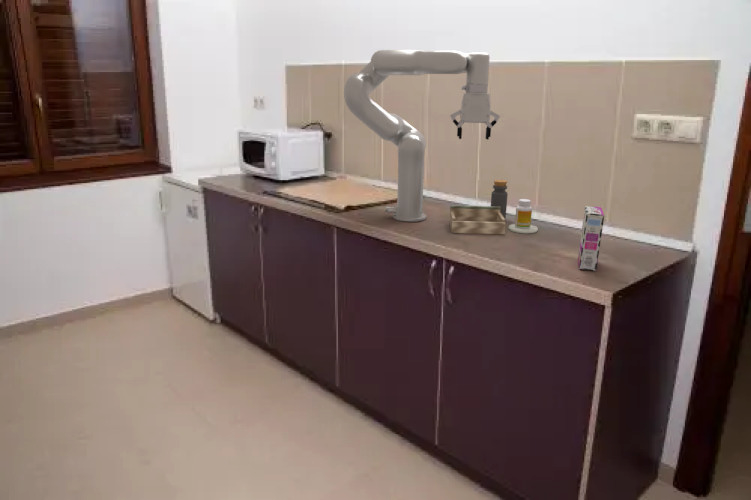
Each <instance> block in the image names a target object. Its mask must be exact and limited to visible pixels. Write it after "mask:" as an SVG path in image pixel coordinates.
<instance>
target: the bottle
mask: <svg viewBox="0 0 751 500" xmlns="http://www.w3.org/2000/svg"><path fill="white" fill-rule="evenodd" d="M507 182H508V181H507V180H505V179H504V180H503V179H495V180H494V181H493V184H494V185H493V186H492V188H493V189H494V190H493V191H491V197H490V198H491V199H490V206H495V207H501V210H500V213H501V214H502V215H503V217H504V218H505V220H506V218H507V217H506V216H507V208H508V207H507V205H508V191H506V190H507V189H508V186H507Z"/></svg>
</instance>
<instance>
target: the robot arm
mask: <svg viewBox="0 0 751 500" xmlns="http://www.w3.org/2000/svg"><path fill="white" fill-rule="evenodd" d="M489 71H490V54H489V53H488V52H483V51H482V52H480V51H479V52H477V51H473V52H462V51H459V50H421V49H380V50H376V51H375V52H374V53H373V54H372V56H371V58H370V61H369V62H368V63H367V64H366V65H365V66H364V67H363V68H362V69H361V70H360V71H359V72H357V73H353V74H351V75H349V77H348V78H347V79H346V80H345V84H344V87H343V97H344V98H343V99H344V101H345V104H346V107H347V108H348V110H349V111H350V112H351V114H353V115H354V116H355V118H357V119H358V120H359V121H361V122H362V123H363V124H364V125H365V126H366V127H368V128H369V129H370V130H372V132H374V134H376V135H377V136H378V137H379V138H381V139H382V140H384V141H387V142H390V143H392V144H393V145H395V146H396V147H397V197H396V198H397V199H396V200H397V201H396V203H397V204H396V206H385V211H384V212H386V213H388V214H390V213H391V214H392V218H393V219H394V220H395V221H400V222H408V223H410V222H413V223H415V222H421V221H425V220H426V219H427V215H426V214H425V213H424V212H423V205H424V182H425V181H424V179H425V177H424V176H425V175H424V174H425V171H424V170H425V150H426V148H427V141H426V139H425V136H424V134H423V133H421V132H420V131H419V130H418V129H416V128H415V127H414V126H412V125H411V124H410V123H409V122H408V121H406V120H405V119H404V118H402V117H401V116H400V115H398V114H396V113H394V112H391V113H390V112H389V111H387V110H386V109H384V108H383V107H382V106H381V105H380V104H378V103H377V102H376V101H374V100H373V99H372V98H371V97H370V96H369V95H370V94H371V93H372V92H373V91H375V90H376V89H377V88H378V87H379V86H380V85H381V84H382V83H383V82H384V81H385V80H386V79H388V77H389V76H422V75H459V74H466V79H465V81H466V83H465V85H462V86H461V91H465V92H464V93H463V95H462V100H461V106H460V109H459V110H457V111H455V112H453V113H451V114H450V118H451V120H452V122H453V123H454V125H455V126H456V128H457V132H456V133H457V134H456V137H458V139H459V140H462V137H463V127H462V126H463V125H464V123H468V124H469V123H471V124H472V123H473V124H475V123H476V124H485V125H486V128H485V140H487V141H488V140H489V139H490V138H491V132H492V128H493V127H494V126H495V125H496V124H497V122H498V121H499V120H500V117H501V116H500V115H499V114H497V113H495V112H493V111H492V110H491V96H490V93H488V85H489ZM458 115H460V117H459V118H460V120H459V121H458V120H457V119H456V117H457V116H458ZM491 116H492V117H494V118H493V120H492V121H491V122H490V119H491Z"/></svg>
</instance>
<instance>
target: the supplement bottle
mask: <svg viewBox="0 0 751 500" xmlns="http://www.w3.org/2000/svg"><path fill="white" fill-rule="evenodd" d="M531 203H532V202H531V200H530V199H528V198H527V199H526V198H521V199H519V200H518V204H519V205H516V209H515V219H514V224H515V227H517V228H521V229H528V228H530V225H532V213H533V207H532V206H531Z"/></svg>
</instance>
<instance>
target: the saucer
mask: <svg viewBox="0 0 751 500" xmlns="http://www.w3.org/2000/svg"><path fill="white" fill-rule="evenodd" d="M538 230H539V228H538V226H536V225H533V224H531V225H530V228H528V229H521V228H517V227H515V223H511V224H510V225H508V231H510V232H512V233H516V234H526V235H530V234H535V233H538Z"/></svg>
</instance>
